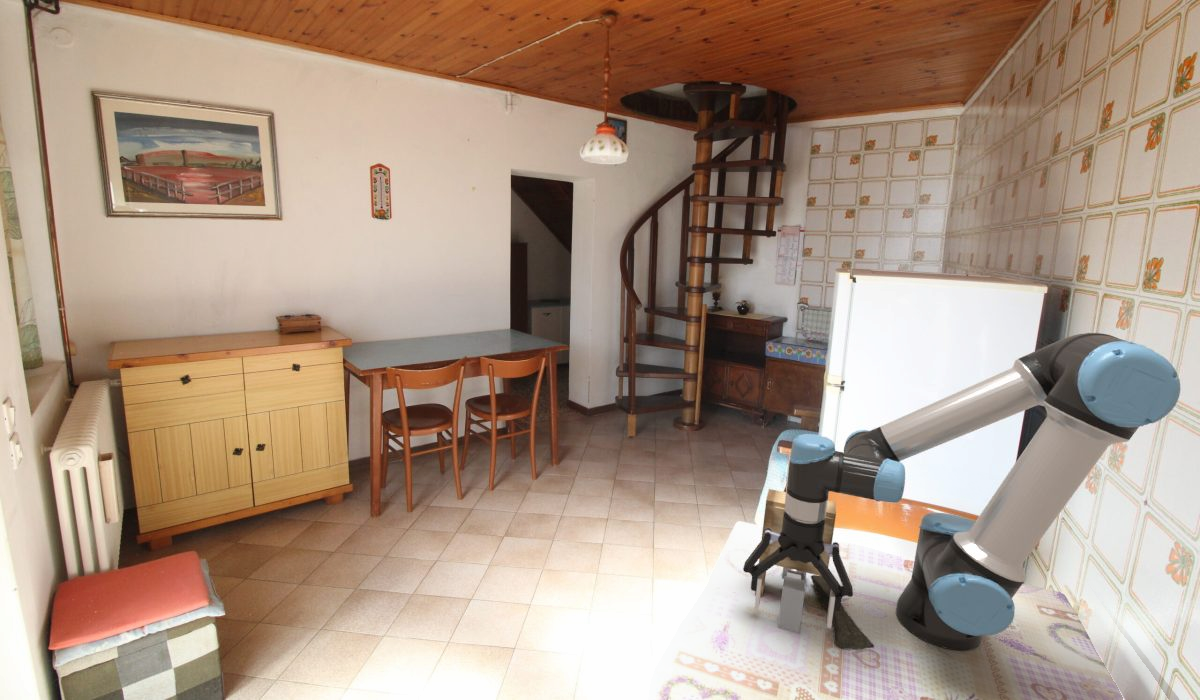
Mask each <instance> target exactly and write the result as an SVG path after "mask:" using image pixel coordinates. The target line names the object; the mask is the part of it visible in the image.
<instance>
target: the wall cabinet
mask: <svg viewBox="0 0 1200 700" xmlns="http://www.w3.org/2000/svg"><path fill="white" fill-rule="evenodd" d="M767 491H768V492H767V496H766V500H765V508H764V516H763V523H762V531H761V540H762V539H763V538H764V534H765V530H766V529H767V528H769V529H771V531H772V532H774V533H777V534H780V533H781V531H782V524H783V515H784V512H785V510H784V506H785V497H786V491H782V490H777V489H770V488H768V490H767ZM836 506H837V505H836V501H832V500H828V503H827V511H826V517H825V519H824V520H825V526H824V534H823V542H824V544H833V537H834V531H835V523H836V516H837V509H836V508H837V507H836ZM780 546H781V545H780V544H779V542H778V541H774V543H772V544H770V543H769V545H768V547H767V549H766V550H765V551H764V553H763V554H762V555H761V557H760V558H759V559H758V563H760V562H761V561H762V560H764V559H765V558H767V557H768V556H769V555H771V554H772V553H773V552H775V551H776V550H777V549H778V548H779V547H780ZM820 556H821V557H822V560H823V561H824V563H825V564H826V566H827V567H828V568H829V565H830V559H831V558H830V556H829V555H828V553H827V552H826V551H823V552H822V553H821V554H820ZM774 566H776V567H781V568H783V567H785V568H789V569H793V570H798V571H802V572H806V574H811V575H817V576H822V575H821V574H820V573H819V571H818V570H817V569H816V568H815V567H814V565H813V564H812V563H811V562H807V563H803V562H801V561H793V560H790V558H789V557H786V558H785V559H784V560H782V561H779V562H778V563H776V564H775V565H774ZM766 575H767V571H765V572H764V573H763V577H762V586H761V595H760V598H761V597H762V598H763V594H764V588H765V583H766V577H767V576H766ZM754 592H755V593H754V596H756V591H754Z"/></svg>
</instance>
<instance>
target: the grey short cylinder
mask: <svg viewBox="0 0 1200 700" xmlns="http://www.w3.org/2000/svg"><path fill="white" fill-rule="evenodd" d="M787 572H789V573H793V574H797V575H801V580H803V581H805V582H806V577H807V573H806V572H802V571H798V570H793V569H789V568H785V567H782V574H781V577H782V579H783V580H784V576H787Z"/></svg>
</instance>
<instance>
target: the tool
mask: <svg viewBox="0 0 1200 700" xmlns="http://www.w3.org/2000/svg"><path fill="white" fill-rule="evenodd" d="M810 579H811V581H812V584H813V587H814V589H815V592H816V593H817V594H816V595H817V596H818V599H819V601H820V603H821V605H823V607H824V608H825V609H827V611H828V607H829V600H830V592H831V588H830V587H829V585H828V584H827V582H826V581H825V580H824V578H823V577H822V576H819V575H814V574H811V576H810ZM831 626H832V629H833V637H834V644H835V646H837V647H839V648H841V650H849V651H850V650H853V651H854V650H855V651H857V650H858V651H859V650H864V649H873V648H874V647H875V645H874V644H873V642H872V641H871V640H870V639H869V638H868V637H867V635H866V634H865V633H863V631H862V630H861V629H860V628H859V626H858V625H856V622H854V620H853V618H852V617H851V616H850V615H849V614H848V612H847V610H845V607H844V605H843V603H842V602H841V606H840V610H839V612H838V611H833V618H832V625H831Z"/></svg>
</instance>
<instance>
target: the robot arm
mask: <svg viewBox="0 0 1200 700" xmlns="http://www.w3.org/2000/svg"><path fill="white" fill-rule="evenodd" d="M1180 395H1181V379H1180V377H1179V375H1178V372H1177V371H1176V368H1175V366H1173V364H1172V363H1171V362H1170V361H1169V360H1168V359H1167V358H1166V357H1164V356H1163V355H1161V354H1160V353H1158V352H1156V351H1155V350H1154V349H1152V348H1149V347H1147V346H1145V345H1143V344H1139V343H1135V342H1133V341H1129V340H1128V341H1127V340H1125V339H1122V338H1118V337H1115V336H1114V335H1110V334H1107V333H1102V332H1086V333H1079V334H1074V335H1072V336H1068V337H1063V338H1062V339H1060V340H1057V341H1055V342H1054V343H1050V344H1048V345H1045V346H1044V347H1041V348H1039V349H1037V350H1034V351H1033V352H1030V353H1029V354H1025V355H1023V356H1022V357H1019V358H1017V359H1015V361H1014V363H1013V366H1012V367H1011V368H1009V369H1007V370H1005V371H1003V372H999V373H997V374H995V375H993V376H991V377H989V378H986V379H984V380H981V381H979V382H977V383H975V384H973V385H971V386H968V387H966V388H963V389H962V390H960V391H957V392H955V393H953V394H951V395H949V396H946V397H944V398H941V399H939V400H937V401H935V402H933V403H930V404H928V405H926V406H923V407H921V408H918V409H917V410H914V411H912V412H910V413H908V414H905V415H904V416H901V417H899V418H896V419H894V420H892V421H890V422H888V423H885V424H883V425H881V426H878V427H876V428H875V427H874V428H873V429H871V430H867V429H858V430H856V431H853V432H852V433H850V434H849V435H848V436H847V438H846V440H845V442H844V443H845V444H844V446H843V452H842V451H839V450H836V447H835V446H836V444H835V442H834V441H833V440H832V439H830V438H829V437H827V436H821V435H819V434H814V433H804V434H799V435H797V436H796V437H794V439H793V440H792V443H791V448H790V456H789V460H788V461H789V464H788V472H787V481H786V491H785V492H786V497H785V506H784V510H785V512H784V515H783V524H782V531H781V533H780V534H777V533H774V532H772V531H771V529H769V528H767V529H766V530H765V534H764V538H763V539H762V538H761V541H760V542H759V543H758V544H757V545H756V547H755V548H754V550H753V551H752V552H751V553H750V555H749V556H748V557H747V559H746V560H745V562H744V565H743V567H742V570H743V572H744V573H748V574H749V575H751V583H750V589H751V591H753V592H755V591H756V595H755V602H754V609H756V610H759V609H760V603H761V602H760V601H761V596H760V595H761V586H762V577H763V573H764V572H765V571H766V572H767V571H768V570H769V569H771V568H772V567H774V566H776V565H775V564H776V563H778V562H779V561H782V560H784V559H785V558H786V557H789V558H790V560H793V561H801V562H803V563H807V562H811V563H812V564H813V565H814V567H815V568H816V569H817V570H818V571H819V573H820V574H821V575H822V577H823V578H824V580H825V581H826V582H827V584H828V585H829V587H830V588H831V592H830V600H829V607H828V610H827V614H826V615H827V616H826V627H827V628H829V629H832V626H833V625H832V618H833V611H838V612H839V610H840V606H841V603H842V600H843V598H844V597H846V596H847V597H849V598H851V597H853V596H854V590H853V585H852V583H851V580H850V578H849V574H848V573H847V571H846V567H845V565H844V563H843V560H842V558H841V555H840V543H838V542H836V541H835V542H832V544H824V542H823V534H824V526H825V520H824V519H825V517H826V511H827V503H828V501H829V493H830V492H831V493H836V494H843V495H847V496H852V497H853V496H854V497H858V498H862V499H868V500H874V501H875V502H886V503H893V504H895V503H899V502H900V501H901V500H902V498H903V495H904V490H905V484H906V468H905V466H904V465H905V464H903V463H902V462H901V461H904V460H906V459H909V458H911V457H913V456H915V455H919V454H921V453H924V452H926V451H928V450H931V449H933V448H935V447H938V446H941V445H943V444H945V443H948V442H950V441H952V440H955V439H957V438H959V437H962V436H965V435H967V434H970V433H973V432H975V431H977V430H980V429H982V428H985V427H987V426H989V425H992V424H994V423H997V422H999V421H1002V420H1004V419H1007V418H1010V417H1012V416H1015V415H1016V414H1019V413H1021V412H1024V411H1026V410H1029V409H1031V408H1033V407H1036V406H1042V407H1044V408H1045V411H1046V417H1045V418H1044V420H1043V422H1042V423H1041V424H1040V426H1039V428H1038V429H1037V431H1036V432H1035V434H1034V435H1033V437H1032V438H1031V440H1030V441H1029V443H1028V444H1027V446H1025V449H1024V450H1023V452H1022V453H1021V454H1020V455H1019V457H1018V459H1017V460H1016V462H1015V463H1014V464H1013V466H1012V467H1011V469H1010V471H1009V472H1008V473H1007V475H1006V477H1004V479H1003V480H1002V482H1001V483H1000V485H999V486H998V488H997V489H996V491H995V492H994V494H993V496H992V497H991V499H990V500H989V501H988V503H987V505H985V507H984V509H982V512H981V513H980V514H979V516H978V518H977V519H976V521H975V520H973V519H970V518H967V517H963V516H960V515H956V514H951V513H946V512H945V513H944V512H929V513H927V514H925V515H924V516H923V517H922V519H921V522H920V525H919V527H918V528H919V533H918V538H917V544H916V550H915V556H914V561H913V568H912V572H911V573H912V575H911V579H910V580H909V582H908V583H907V585H906V586H905V588H904V589H903V591H902V593H901V594H900V595H899V597H898V599H897V601H896V608H895V615H896V618H897V620H898V621H899V622H900V624H901V625H902V626H903V627H904V628H905V629H906V630H907V631H909V632H910V633H912V634H913V635H914V636H915V637H918V638H919V639H921V640H924V641H925V642H927V643H930V644H932V645H935V646H938V647H941V648H945V649H949V650H956V651H968V650H972V649H975V648H977V647H979V646H980V644H981V642H982V638H983V636H986V637H990V636H995V635H998V634H1000V633H1002V632H1004V631H1005V630H1007V629H1008V628H1009V626H1011V624H1012V623H1013V621H1014V618H1015V609H1016V608H1015V602H1014V599H1013V598H1014V596H1015V595H1016V593H1017V592H1018V591H1019V589H1020V588H1021V587H1022V585H1023V584H1024V583H1025V581H1026V580H1027V573H1026V571H1025V569H1024V563H1025V562H1026V560H1027V559H1028V557H1029V556H1030V555H1031V554H1032V552H1033V550H1034V549H1035V548H1036V546H1037V544H1038V543H1039V542H1040V541H1041V539H1042V538H1043V537H1044V535H1045V534H1046V533H1047V531H1048V530H1049V529H1050V527H1051V526H1052V524H1053V523H1054V522H1055V520H1056V519H1057V517H1058V516H1059V515H1060V513H1061V512H1062V511H1063V509H1064V508H1065V507H1066V505H1067V504H1068V503H1069V501H1070V499H1072V497H1073V496H1074V495H1075V494H1076V493H1075V492H1076V491H1077V490H1078V489H1079V488H1080V486H1082V485H1081V484H1083V482H1084V481H1085V479H1086V478H1087V476H1088V475H1089V474H1090V472H1091V471H1092V470H1093V468H1094V467H1095V466H1096V465H1097V463H1098V461H1099V460H1100V459H1101V457H1102V456H1103V455H1104V454H1105V452H1106V451H1107V449H1108V448H1109V447H1110V446H1112V445H1114V444H1120V443H1127V442H1129V441H1130V440H1131V439H1132V437H1133V436H1134V434H1135V433H1136V432H1137V430H1138V429H1139V428H1140V427H1144V426H1147V425H1149V424H1154V423H1157V422H1160V421H1161V420H1162V419H1164V418H1165V417H1166V416H1168V415H1169V414H1170V413H1171V412H1172V410H1174V408H1175V407H1176V405H1177V403H1178V401H1179V399H1180ZM774 541H778V542H779V544H780V545H781V546H780V547H779V548H778V549H777V550H776V551H775V552H773V553H772V554H771V555H769V556H768V557H767V558H765V559H764V560H762V561H761V562H760V563H759V558H760V557H761V555H762V554H763V553H764V551H765V550H766V549H767V547H768V545H769V543H770V544H772V543H774ZM823 551H826V552H827V553H828V555H829V556H830V557H831V558H832V561H833V562H832V563H833V565H834V567H835V570H836V572H837V574H838V575H837V576H838V577H839V580H840V582H841V583H839V581H838V580H837V578H836V577H835V576H834V574H833V573H832V571H831V570H830V568H829V566H828V567H827V566H826V564H825V563H824V561H823V560H822V557H821V556H820V554H821V553H822V552H823ZM757 562H758V563H757Z"/></svg>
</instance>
